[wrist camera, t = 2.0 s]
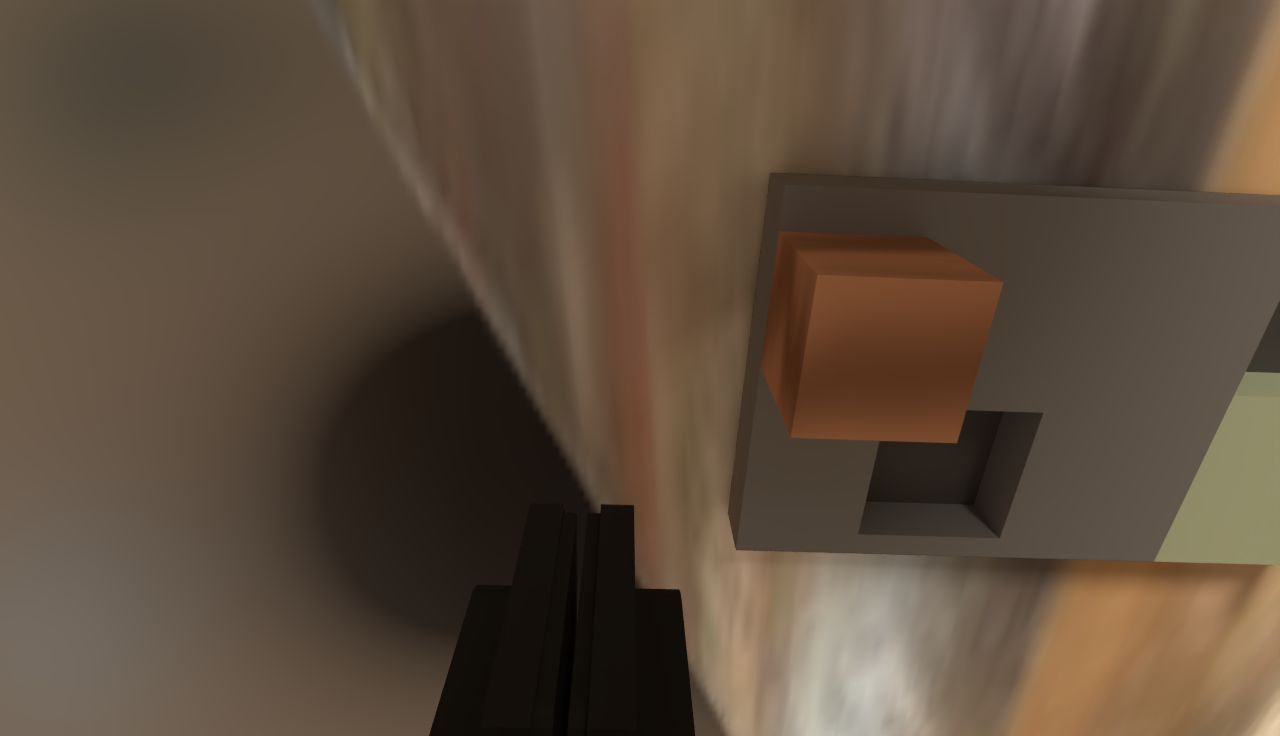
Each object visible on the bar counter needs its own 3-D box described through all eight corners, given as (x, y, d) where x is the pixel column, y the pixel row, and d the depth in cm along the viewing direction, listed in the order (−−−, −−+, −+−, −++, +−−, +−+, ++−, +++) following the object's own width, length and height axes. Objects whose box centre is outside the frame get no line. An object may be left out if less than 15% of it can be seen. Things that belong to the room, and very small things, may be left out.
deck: (770, 172, 23) (799, 195, 19) (1489, 204, 24) (1663, 233, 20) (727, 512, 30) (743, 584, 26) (1299, 529, 31) (1402, 601, 26)
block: (778, 230, 22) (817, 274, 17) (926, 236, 22) (1003, 282, 17) (760, 366, 24) (790, 437, 19) (895, 371, 24) (956, 443, 20)
